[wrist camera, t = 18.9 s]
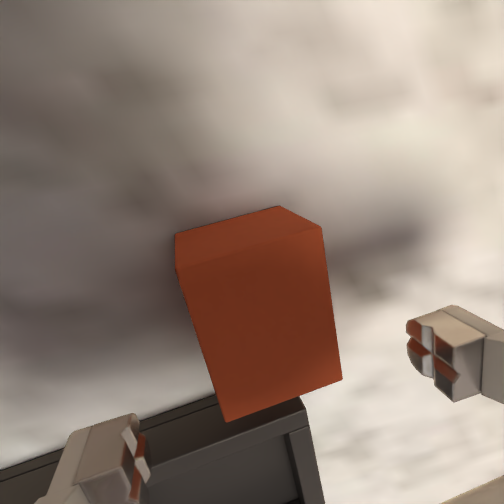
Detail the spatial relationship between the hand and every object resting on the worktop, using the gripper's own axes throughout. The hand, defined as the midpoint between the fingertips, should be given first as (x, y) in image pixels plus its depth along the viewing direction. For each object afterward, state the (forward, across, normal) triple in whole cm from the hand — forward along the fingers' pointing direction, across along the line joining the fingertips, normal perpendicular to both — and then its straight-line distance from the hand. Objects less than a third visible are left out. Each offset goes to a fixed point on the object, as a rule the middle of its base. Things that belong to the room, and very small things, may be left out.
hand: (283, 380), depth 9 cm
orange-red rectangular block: (+5, 0, -1) cm, 5 cm away
